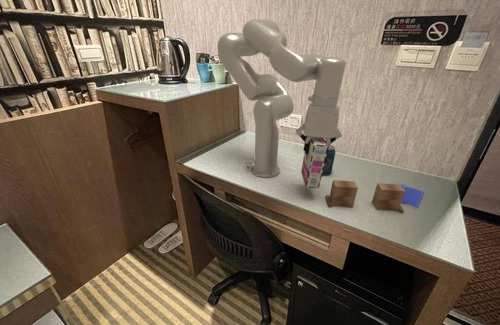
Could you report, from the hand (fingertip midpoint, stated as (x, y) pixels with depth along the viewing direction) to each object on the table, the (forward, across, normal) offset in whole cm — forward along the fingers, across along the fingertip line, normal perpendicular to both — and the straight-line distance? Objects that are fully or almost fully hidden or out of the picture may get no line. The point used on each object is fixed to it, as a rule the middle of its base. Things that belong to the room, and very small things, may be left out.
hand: (314, 153), depth 82 cm
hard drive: (+16, +36, +1) cm, 40 cm away
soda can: (+17, +8, +16) cm, 24 cm away
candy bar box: (+11, 0, 0) cm, 11 cm away
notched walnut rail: (+16, +18, -6) cm, 25 cm away
